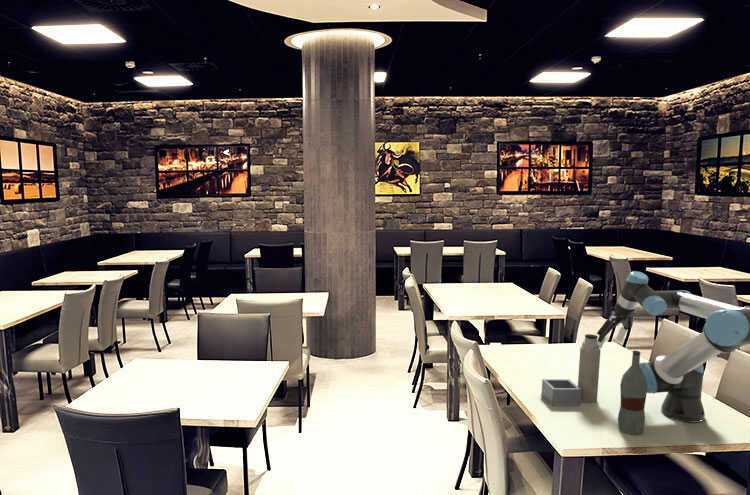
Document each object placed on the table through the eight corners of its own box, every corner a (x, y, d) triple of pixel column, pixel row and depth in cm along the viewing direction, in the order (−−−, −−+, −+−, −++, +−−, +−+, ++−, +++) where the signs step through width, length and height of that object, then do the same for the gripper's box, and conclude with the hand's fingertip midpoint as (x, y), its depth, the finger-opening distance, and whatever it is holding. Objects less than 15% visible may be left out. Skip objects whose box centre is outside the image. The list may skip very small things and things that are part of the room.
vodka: (616, 423, 208) (622, 346, 205) (643, 427, 205) (649, 349, 202) (617, 432, 199) (623, 353, 196) (645, 437, 196) (651, 356, 193)
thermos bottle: (574, 395, 235) (578, 332, 233) (592, 396, 236) (596, 333, 233) (581, 402, 228) (585, 337, 225) (600, 403, 228) (604, 338, 225)
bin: (580, 405, 224) (581, 389, 224) (551, 405, 224) (552, 389, 223) (568, 395, 236) (569, 379, 236) (541, 394, 236) (542, 379, 235)
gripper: (638, 294, 238) (620, 332, 249) (599, 305, 227) (582, 344, 237) (652, 304, 233) (634, 342, 244) (613, 315, 221) (595, 355, 232)
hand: (608, 343), depth 241 cm, fingers open, 13 cm apart
